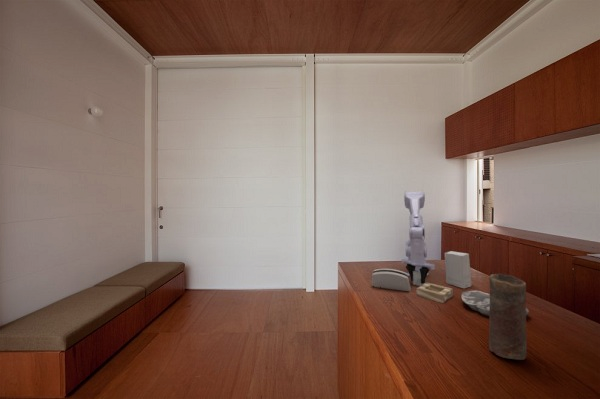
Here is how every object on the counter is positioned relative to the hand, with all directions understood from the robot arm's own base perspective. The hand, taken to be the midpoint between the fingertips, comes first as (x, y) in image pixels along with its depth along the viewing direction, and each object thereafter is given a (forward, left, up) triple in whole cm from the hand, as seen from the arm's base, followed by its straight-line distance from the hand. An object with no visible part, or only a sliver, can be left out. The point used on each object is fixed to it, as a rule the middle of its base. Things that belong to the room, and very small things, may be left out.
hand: (417, 281), depth 112 cm
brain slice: (+5, +28, -2) cm, 28 cm away
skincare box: (-13, +12, -2) cm, 18 cm away
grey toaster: (+12, -7, -2) cm, 14 cm away
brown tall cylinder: (+32, +38, -2) cm, 50 cm away
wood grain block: (-1, 0, -2) cm, 2 cm away
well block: (+7, +10, -2) cm, 12 cm away
